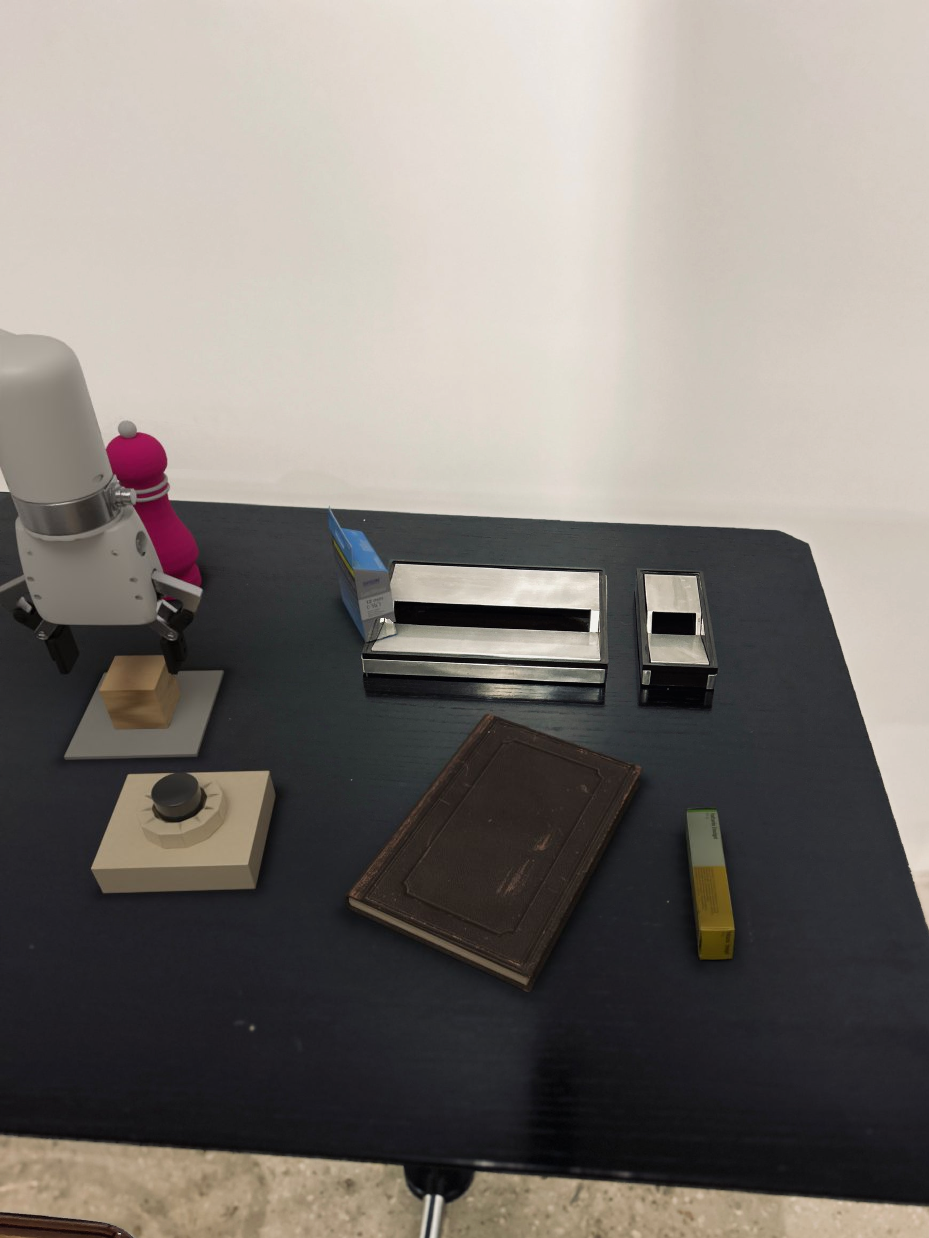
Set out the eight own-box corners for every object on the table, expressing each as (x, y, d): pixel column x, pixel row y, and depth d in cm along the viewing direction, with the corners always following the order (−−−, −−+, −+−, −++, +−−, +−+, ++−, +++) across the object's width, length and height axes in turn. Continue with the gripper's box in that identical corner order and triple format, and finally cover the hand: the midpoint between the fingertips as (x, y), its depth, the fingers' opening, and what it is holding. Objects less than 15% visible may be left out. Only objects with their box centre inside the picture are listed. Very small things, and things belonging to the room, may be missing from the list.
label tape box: (398, 635, 95) (388, 538, 87) (362, 645, 93) (349, 547, 85) (373, 593, 101) (361, 497, 92) (338, 601, 99) (324, 505, 91)
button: (152, 823, 69) (145, 806, 68) (164, 789, 72) (157, 772, 70) (198, 822, 69) (192, 805, 68) (208, 788, 72) (202, 771, 70)
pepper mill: (128, 598, 99) (71, 432, 86) (162, 564, 104) (113, 402, 91) (186, 608, 98) (137, 441, 85) (217, 573, 103) (176, 410, 90)
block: (114, 729, 83) (98, 690, 79) (129, 694, 86) (115, 655, 83) (168, 728, 83) (154, 689, 80) (181, 693, 87) (168, 654, 83)
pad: (65, 759, 80) (63, 756, 80) (105, 675, 89) (104, 672, 89) (197, 756, 81) (196, 753, 80) (224, 673, 90) (223, 670, 89)
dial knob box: (103, 893, 69) (83, 854, 66) (138, 798, 77) (121, 759, 74) (255, 889, 70) (243, 849, 67) (275, 795, 77) (265, 755, 74)
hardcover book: (639, 784, 79) (642, 766, 77) (529, 993, 63) (530, 976, 62) (483, 728, 84) (483, 711, 83) (346, 909, 69) (342, 891, 67)
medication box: (683, 837, 75) (685, 805, 72) (715, 836, 74) (718, 804, 72) (697, 960, 65) (699, 929, 63) (734, 960, 65) (738, 929, 62)
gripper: (190, 480, 73) (227, 640, 84) (-24, 476, 72) (42, 639, 83) (167, 527, 67) (210, 692, 79) (-65, 524, 66) (12, 691, 78)
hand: (124, 664), depth 81 cm, fingers open, 9 cm apart
